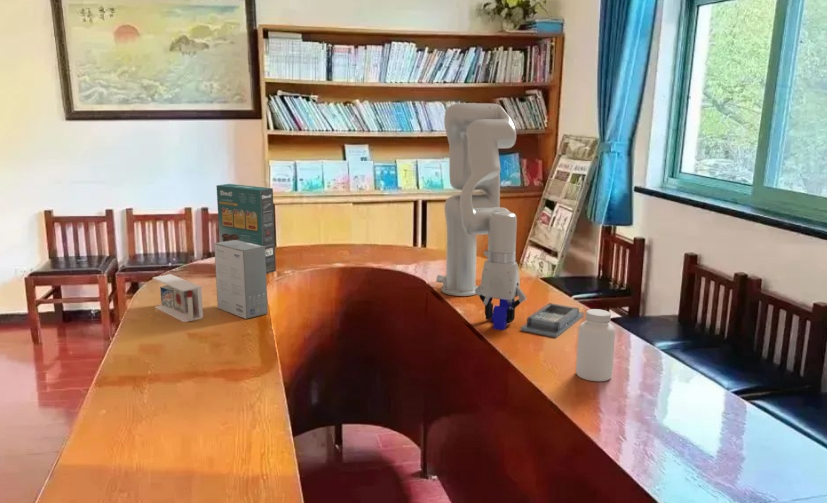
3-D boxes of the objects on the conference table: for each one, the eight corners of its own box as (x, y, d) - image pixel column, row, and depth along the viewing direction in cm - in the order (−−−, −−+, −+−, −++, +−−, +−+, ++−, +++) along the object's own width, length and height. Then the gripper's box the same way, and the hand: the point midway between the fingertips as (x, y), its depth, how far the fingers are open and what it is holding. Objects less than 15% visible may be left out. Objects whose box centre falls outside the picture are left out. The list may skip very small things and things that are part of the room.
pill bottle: (612, 371, 155) (617, 309, 152) (610, 384, 148) (615, 319, 144) (577, 366, 157) (581, 305, 154) (573, 379, 150) (578, 315, 147)
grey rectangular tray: (520, 330, 182) (521, 320, 181) (550, 310, 200) (551, 300, 199) (556, 337, 177) (556, 326, 176) (583, 316, 195) (584, 306, 194)
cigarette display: (154, 307, 199) (152, 277, 197) (172, 304, 203) (170, 274, 201) (187, 323, 185) (184, 290, 183) (205, 319, 189) (203, 287, 187)
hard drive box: (269, 314, 194) (266, 246, 190) (246, 320, 189) (242, 250, 184) (238, 303, 204) (235, 238, 200) (216, 308, 199) (212, 242, 195)
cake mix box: (275, 271, 243) (272, 188, 236) (263, 274, 238) (260, 190, 231) (233, 262, 254) (229, 183, 248) (220, 266, 249) (216, 185, 243)
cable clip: (494, 315, 195) (495, 295, 193) (510, 316, 193) (511, 296, 192) (488, 328, 183) (488, 307, 182) (504, 330, 182) (505, 308, 181)
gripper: (467, 255, 185) (465, 318, 189) (525, 263, 176) (522, 329, 180) (479, 251, 192) (477, 311, 195) (536, 258, 183) (533, 322, 186)
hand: (499, 319), depth 188 cm, fingers closed on cable clip, 5 cm apart
